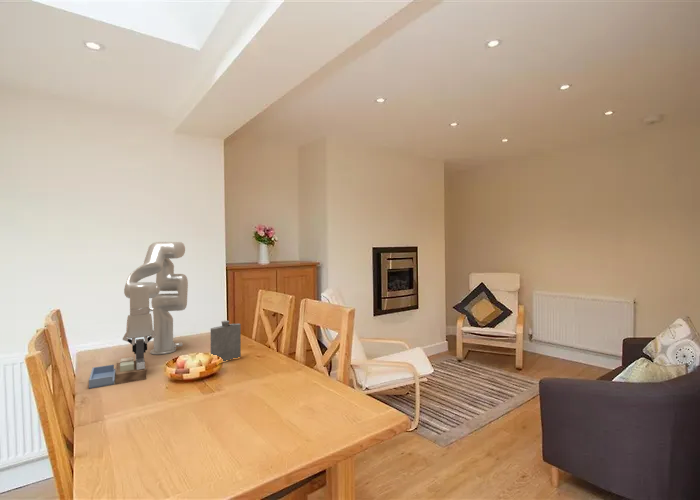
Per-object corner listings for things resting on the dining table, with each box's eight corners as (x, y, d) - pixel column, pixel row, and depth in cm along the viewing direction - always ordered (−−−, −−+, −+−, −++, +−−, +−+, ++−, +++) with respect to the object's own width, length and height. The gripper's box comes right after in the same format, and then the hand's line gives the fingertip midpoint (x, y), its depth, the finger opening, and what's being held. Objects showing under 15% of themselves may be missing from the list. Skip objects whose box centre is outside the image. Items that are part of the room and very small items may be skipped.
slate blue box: (115, 371, 164) (115, 364, 164) (114, 384, 149) (114, 376, 149) (92, 375, 159) (92, 367, 159) (89, 388, 144) (88, 380, 144)
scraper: (142, 358, 169) (142, 335, 169) (144, 368, 155) (144, 343, 155) (135, 360, 167) (135, 336, 167) (136, 369, 154) (136, 344, 154)
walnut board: (144, 367, 170) (144, 359, 170) (146, 379, 155) (146, 369, 155) (116, 371, 164) (116, 363, 164) (115, 384, 149) (115, 374, 149)
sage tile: (133, 366, 159) (133, 360, 159) (133, 369, 155) (133, 364, 155) (120, 368, 156) (120, 362, 156) (120, 371, 152) (120, 366, 152)
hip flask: (212, 365, 173) (212, 324, 173) (208, 363, 175) (208, 323, 175) (241, 358, 185) (241, 319, 185) (237, 356, 187) (237, 318, 187)
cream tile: (133, 362, 165) (133, 356, 165) (133, 365, 161) (133, 359, 161) (120, 364, 162) (120, 358, 162) (120, 367, 158) (120, 361, 158)
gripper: (159, 308, 169) (159, 348, 169) (118, 312, 160) (118, 353, 160) (160, 311, 162) (161, 351, 162) (117, 314, 154) (118, 357, 154)
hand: (139, 352), depth 161 cm, fingers closed on scraper, 3 cm apart
